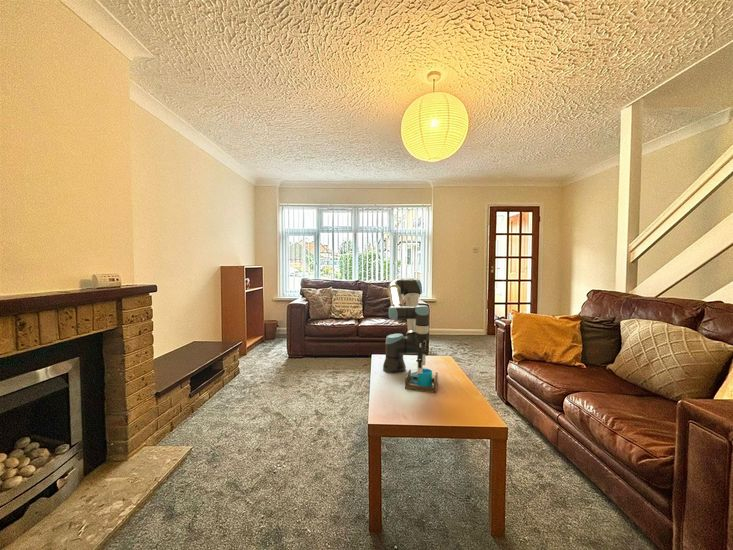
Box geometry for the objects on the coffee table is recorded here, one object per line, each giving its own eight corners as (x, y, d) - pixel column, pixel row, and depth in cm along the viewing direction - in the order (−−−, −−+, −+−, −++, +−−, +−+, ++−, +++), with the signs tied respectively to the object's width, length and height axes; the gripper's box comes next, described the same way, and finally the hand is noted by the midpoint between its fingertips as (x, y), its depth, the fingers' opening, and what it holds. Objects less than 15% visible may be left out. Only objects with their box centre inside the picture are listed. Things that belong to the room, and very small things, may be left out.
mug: (431, 382, 174) (431, 368, 174) (432, 388, 166) (432, 373, 166) (410, 381, 176) (410, 367, 175) (411, 387, 167) (411, 372, 167)
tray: (409, 379, 181) (409, 369, 180) (437, 382, 176) (437, 372, 175) (405, 388, 166) (405, 378, 166) (435, 392, 161) (435, 381, 161)
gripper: (418, 327, 183) (418, 361, 184) (412, 337, 160) (411, 375, 161) (430, 328, 181) (430, 362, 182) (426, 338, 157) (425, 377, 158)
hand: (421, 368), depth 171 cm, fingers open, 13 cm apart
